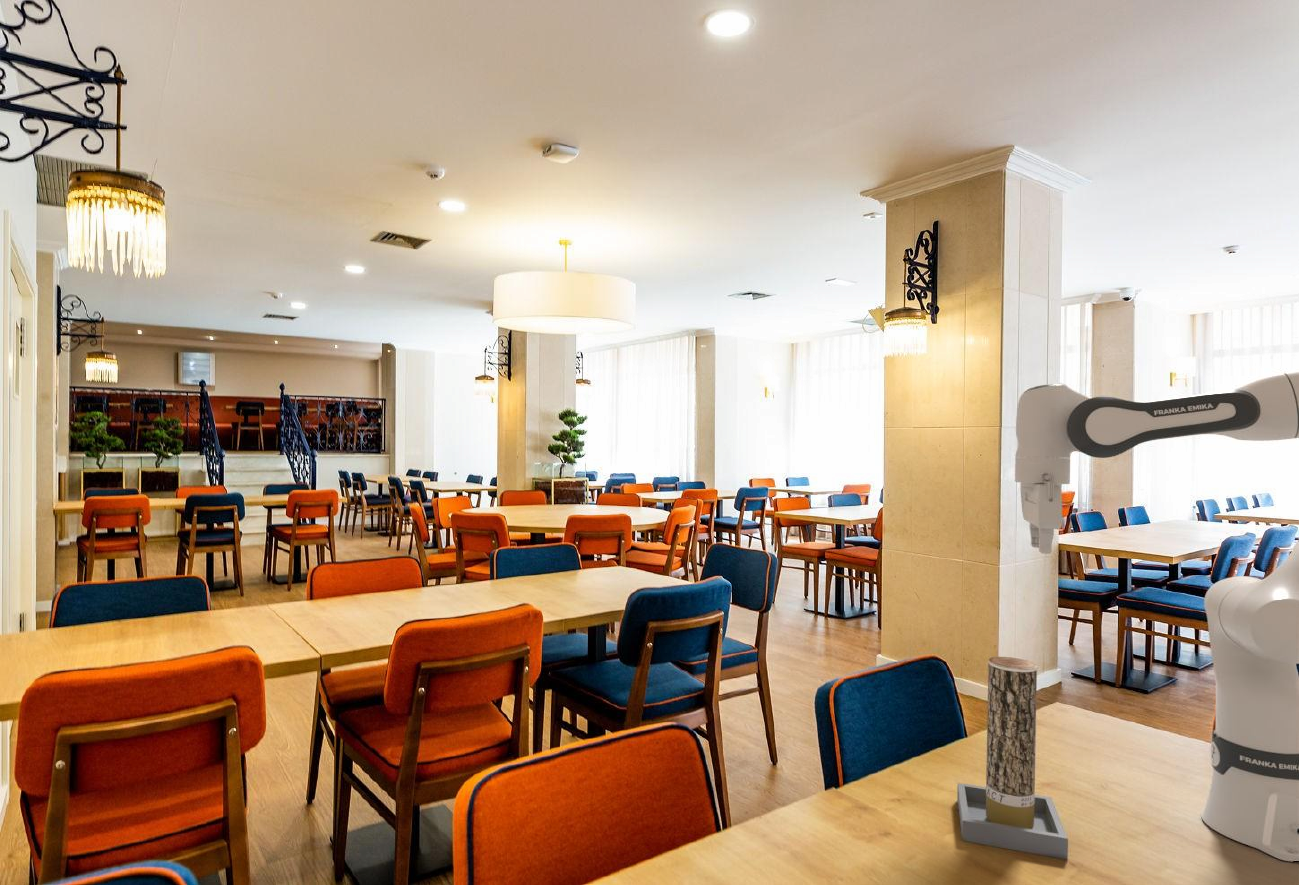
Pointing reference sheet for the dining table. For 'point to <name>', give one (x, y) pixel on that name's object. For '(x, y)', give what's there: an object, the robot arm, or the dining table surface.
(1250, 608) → the robot arm
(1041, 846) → the tray
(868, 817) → the dining table surface
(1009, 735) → the paper tube
